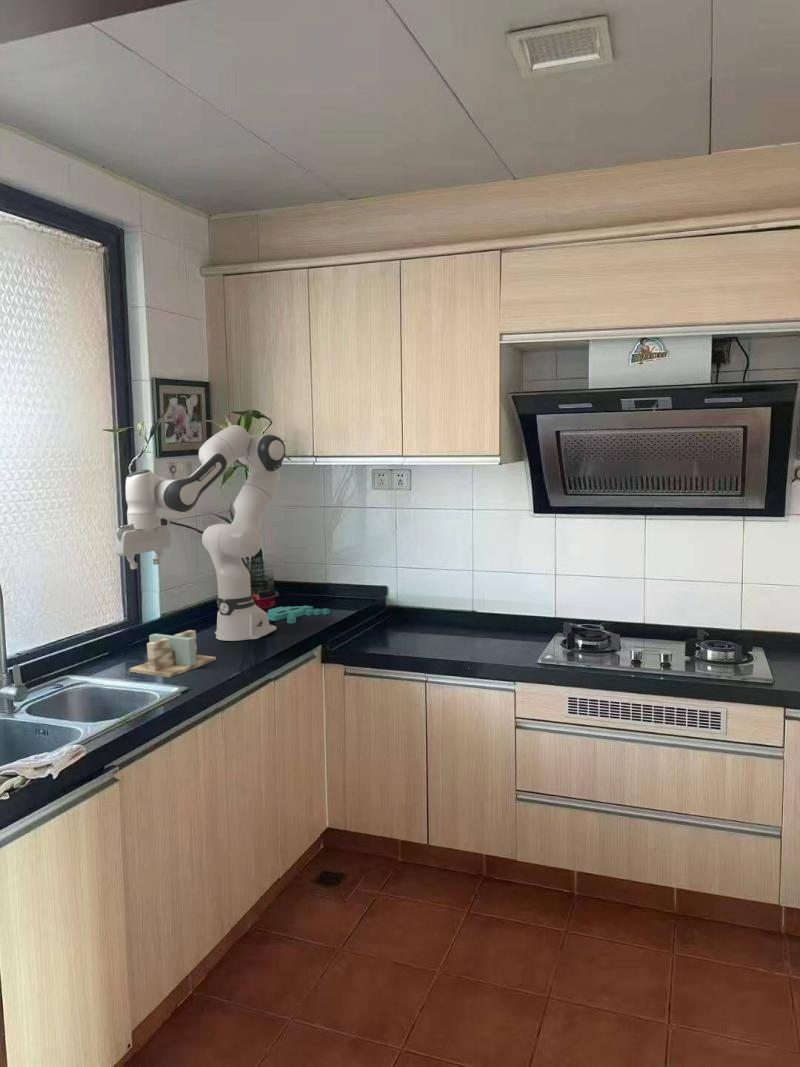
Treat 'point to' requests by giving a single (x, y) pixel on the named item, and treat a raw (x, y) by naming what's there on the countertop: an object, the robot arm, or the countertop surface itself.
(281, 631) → the countertop surface
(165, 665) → the slotted stand
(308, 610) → the alien figure
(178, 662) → the crossbar
